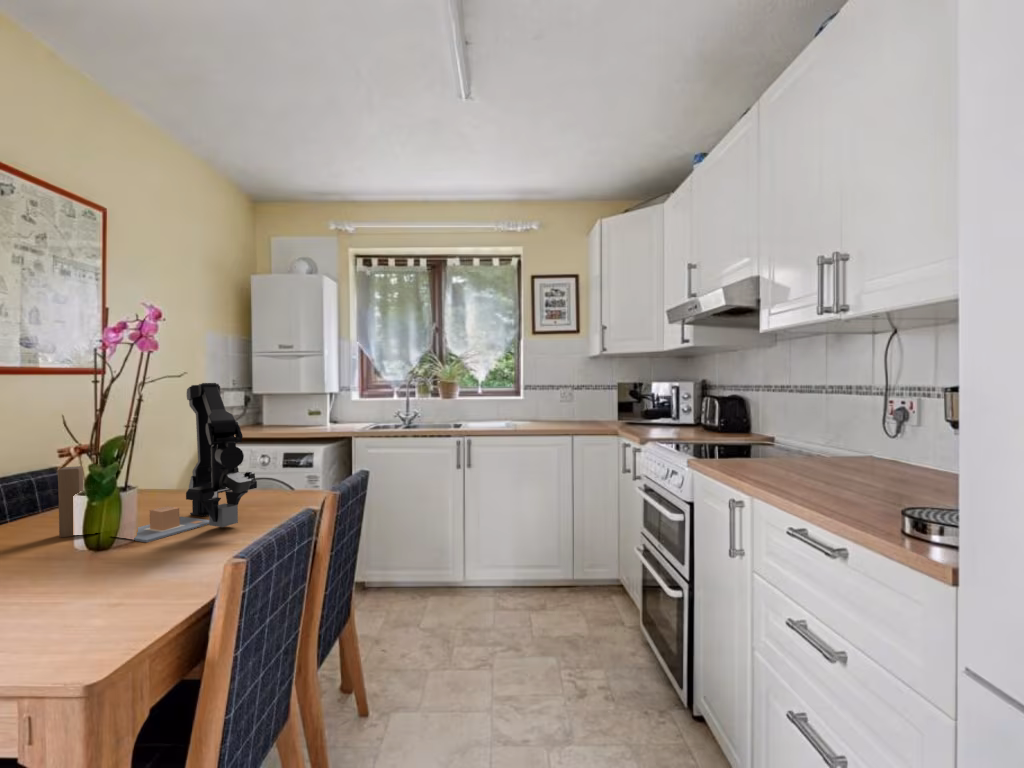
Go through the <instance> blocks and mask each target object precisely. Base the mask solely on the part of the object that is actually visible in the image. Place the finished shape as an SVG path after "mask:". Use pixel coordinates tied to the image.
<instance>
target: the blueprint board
mask: <svg viewBox="0 0 1024 768" xmlns="http://www.w3.org/2000/svg"><path fill="white" fill-rule="evenodd" d="M179 517H180V526H177V527H173V528H170V529H166V530H156V529H150V523H149V524H146V525H142V526H138V532H137V536H136V537H135V538H134V540H135V542H142V543H149V542H153V541H156V540H159V539H160V540H161V539H163V538H167V537H171V536H175V535H178V534H180V532H181V533H185V532H188V531H191V529H192V530H195V529H198V528H197V527H199V528H202V527H205V526H204V525H206V526H208V525H207V524H209V519H202V518H195V517H186V516H181V515H179ZM201 526H202V527H201ZM194 528H195V529H194ZM187 530H188V531H187ZM184 531H185V532H184ZM177 533H178V534H177ZM134 540H133V541H134Z"/></svg>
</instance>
